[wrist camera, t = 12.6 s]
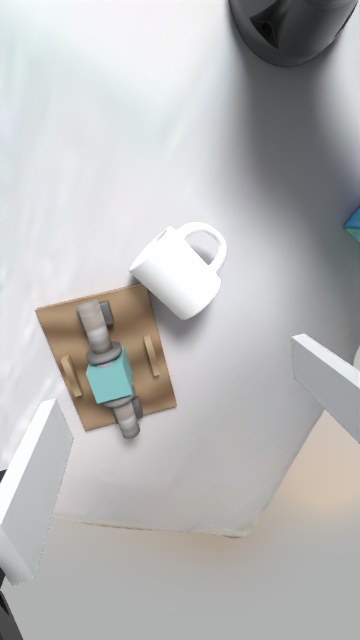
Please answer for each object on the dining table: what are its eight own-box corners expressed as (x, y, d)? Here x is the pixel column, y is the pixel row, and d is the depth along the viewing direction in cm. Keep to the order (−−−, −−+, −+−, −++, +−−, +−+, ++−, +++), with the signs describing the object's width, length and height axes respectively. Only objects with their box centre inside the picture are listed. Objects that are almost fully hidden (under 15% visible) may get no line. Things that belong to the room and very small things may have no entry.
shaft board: (37, 307, 41) (19, 324, 35) (145, 282, 42) (147, 293, 36) (86, 426, 49) (79, 457, 42) (176, 401, 50) (182, 429, 44)
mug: (176, 310, 44) (184, 328, 37) (128, 265, 41) (127, 275, 34) (232, 254, 43) (252, 262, 35) (187, 203, 39) (199, 200, 32)
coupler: (91, 351, 43) (84, 371, 38) (123, 343, 44) (121, 362, 38) (102, 382, 45) (97, 405, 40) (132, 374, 46) (132, 396, 40)
